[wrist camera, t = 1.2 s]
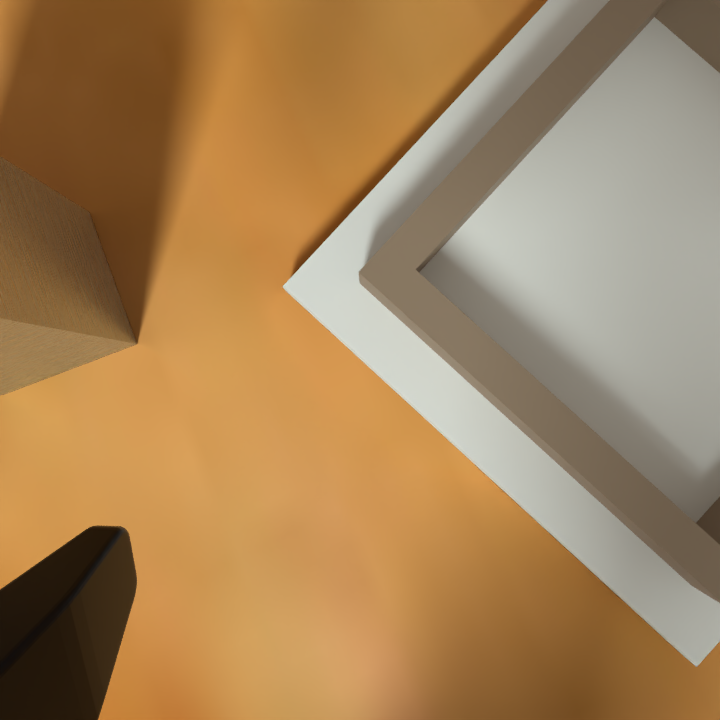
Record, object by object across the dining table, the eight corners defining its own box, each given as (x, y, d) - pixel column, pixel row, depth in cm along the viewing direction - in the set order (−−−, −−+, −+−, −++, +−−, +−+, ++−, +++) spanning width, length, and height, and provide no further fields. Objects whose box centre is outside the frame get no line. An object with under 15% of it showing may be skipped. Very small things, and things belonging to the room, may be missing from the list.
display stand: (677, 651, 21) (733, 698, 18) (287, 292, 22) (273, 275, 19) (1027, 259, 21) (1142, 236, 18) (631, -79, 22) (675, -158, 19)
